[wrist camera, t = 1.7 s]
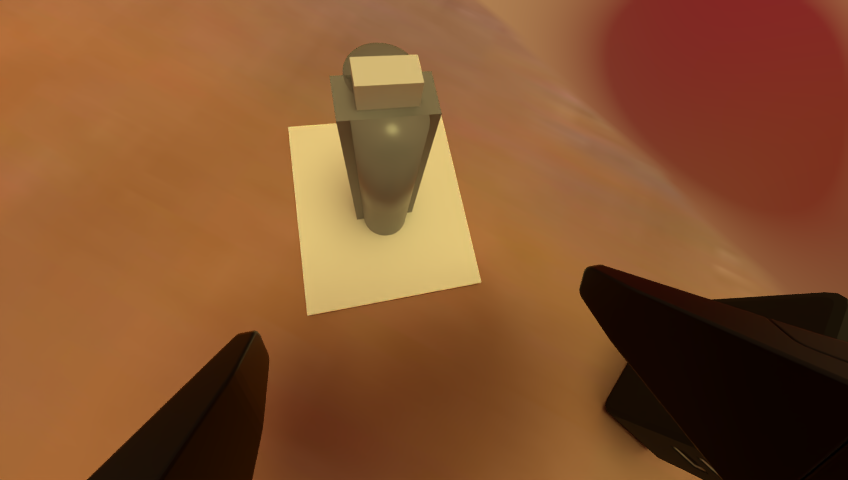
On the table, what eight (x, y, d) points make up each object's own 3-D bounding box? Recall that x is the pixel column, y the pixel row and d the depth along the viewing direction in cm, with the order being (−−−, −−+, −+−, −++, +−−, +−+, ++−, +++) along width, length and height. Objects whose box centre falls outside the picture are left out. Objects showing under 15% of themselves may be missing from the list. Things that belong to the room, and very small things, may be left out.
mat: (479, 283, 22) (481, 282, 21) (308, 315, 20) (307, 315, 19) (440, 119, 25) (441, 115, 25) (290, 131, 23) (288, 127, 22)
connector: (415, 231, 22) (457, 128, 10) (360, 239, 21) (336, 138, 9) (403, 169, 23) (428, 13, 11) (350, 175, 22) (318, 13, 10)
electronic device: (599, 409, 21) (786, 483, 11) (661, 301, 24) (851, 289, 14) (647, 452, 21) (878, 566, 11) (703, 338, 23) (925, 350, 14)
